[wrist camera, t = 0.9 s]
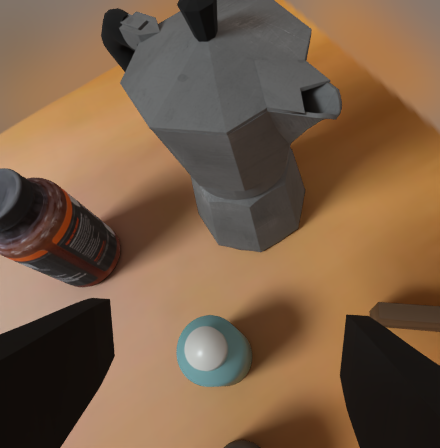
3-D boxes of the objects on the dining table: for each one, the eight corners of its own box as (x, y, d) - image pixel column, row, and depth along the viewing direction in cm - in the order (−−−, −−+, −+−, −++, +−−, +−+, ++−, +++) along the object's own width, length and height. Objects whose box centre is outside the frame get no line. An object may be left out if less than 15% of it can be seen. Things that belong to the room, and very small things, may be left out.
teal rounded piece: (249, 389, 24) (235, 391, 18) (194, 382, 24) (165, 381, 19) (254, 329, 25) (242, 315, 20) (202, 324, 26) (177, 309, 21)
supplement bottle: (118, 217, 32) (35, 140, 22) (128, 275, 29) (38, 218, 19) (59, 239, 32) (-49, 173, 22) (64, 298, 29) (-58, 254, 19)
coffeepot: (350, 196, 28) (417, -53, 12) (287, 291, 26) (267, 140, 10) (206, 128, 34) (124, -96, 18) (146, 199, 32) (-6, 17, 16)
